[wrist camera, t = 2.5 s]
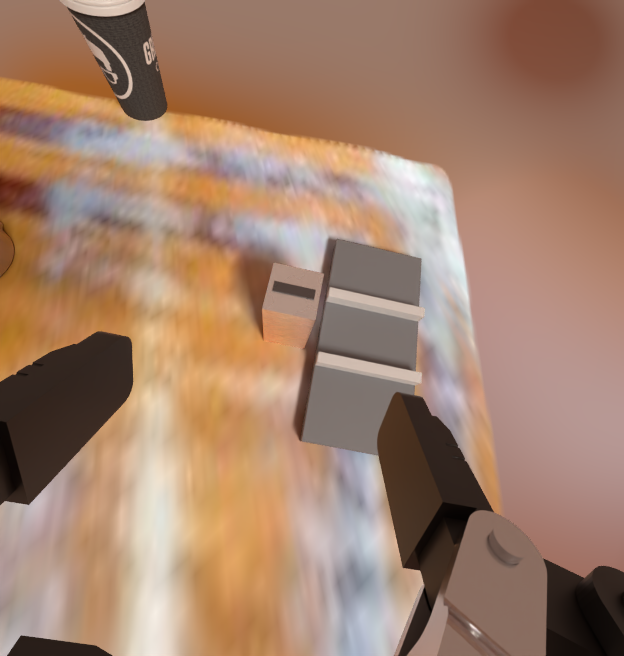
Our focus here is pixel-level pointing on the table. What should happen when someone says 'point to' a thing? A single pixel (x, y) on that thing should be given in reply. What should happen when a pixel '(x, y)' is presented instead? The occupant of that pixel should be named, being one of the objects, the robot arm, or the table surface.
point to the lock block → (291, 305)
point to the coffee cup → (123, 52)
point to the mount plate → (363, 346)
